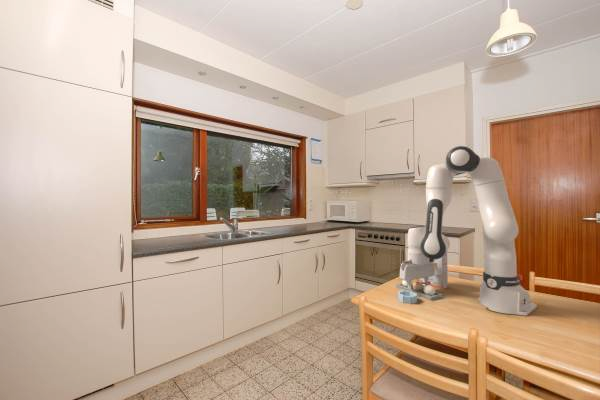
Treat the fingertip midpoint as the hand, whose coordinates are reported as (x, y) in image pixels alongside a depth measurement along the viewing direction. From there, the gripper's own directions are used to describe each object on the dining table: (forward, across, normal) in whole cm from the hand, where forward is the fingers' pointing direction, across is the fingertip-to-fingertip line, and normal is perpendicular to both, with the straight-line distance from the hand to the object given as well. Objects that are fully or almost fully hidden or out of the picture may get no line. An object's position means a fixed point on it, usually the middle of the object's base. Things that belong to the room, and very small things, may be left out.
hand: (417, 287), depth 132 cm
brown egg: (+2, 0, 0) cm, 2 cm away
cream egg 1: (+2, 0, +6) cm, 7 cm away
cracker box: (+3, +15, +4) cm, 16 cm away
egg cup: (+3, -13, -6) cm, 14 cm away
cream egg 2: (+2, 0, -7) cm, 7 cm away
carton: (+3, 0, 0) cm, 3 cm away
